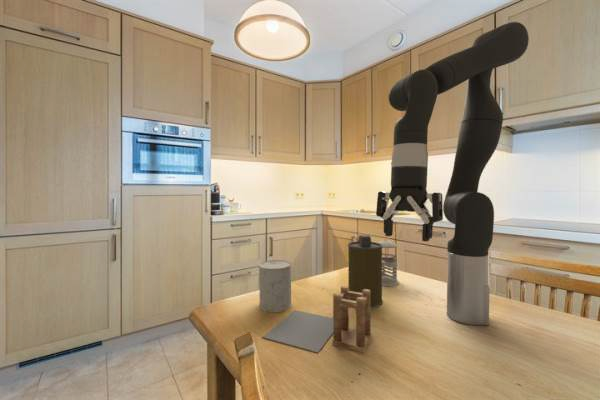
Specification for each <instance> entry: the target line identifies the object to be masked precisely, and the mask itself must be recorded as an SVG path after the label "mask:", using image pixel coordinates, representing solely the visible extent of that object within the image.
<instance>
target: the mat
mask: <svg viewBox="0 0 600 400" xmlns="http://www.w3.org/2000/svg"><path fill="white" fill-rule="evenodd" d="M332 335H333V317H329V316H324V315H321V314H315V313H310V312H305V311H301V310H296V309H294V310H293V311H292V312H291V313H289V314H288V315H287V316H285V318H284V319H282V320H281V321H280V322H279V323H277V324H276V325H275V326H274V327H273V328H271V329H270V330H269V331H267V333H265V334H264V335H263V336H262V339H266V340H269V341H272V342H277V343H280V344H283V345H287V346H291V347H294V348H298V349H301V350H306V351H309V352H313V353H316V354H319V353H320V351H321V350H322V349H323V347H324V346H325V345H326V344H327V342H328V341H329V339H330V338H331V337H332Z"/></svg>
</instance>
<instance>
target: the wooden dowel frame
mask: <svg viewBox="0 0 600 400" xmlns="http://www.w3.org/2000/svg"><path fill="white" fill-rule="evenodd" d="M332 295H333V296H332V298H333V300H332V301H333V302H332V303H333V304H332V306H333V309H332V310H333V311H332V315H333V317H332V318H333V334H332V335H333V338H332V341H331V342H332V344H331V345H332V346H337V347H341V348H344V349H349V350H352V351H356V352H360V353H365V351H366V349H367V347H368V345H369V342H370V340H371V338H372V332H371V307H370V290H368V289H364V290H362V293H359V292H353V291H348V285H347V286H346V285H342V286H340V292H339V293H338V292H337V293H333V294H332ZM348 298H354V299H356V301H353V300H348ZM349 308H350V309H355V310H356V311H355V313H356V316H355V317H356V318H355V319H356V320H355V321H356V322H355V323H356V325H355V327H356V328H353V327H349V323H350V321H349Z"/></svg>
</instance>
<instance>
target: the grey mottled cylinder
mask: <svg viewBox="0 0 600 400" xmlns="http://www.w3.org/2000/svg"><path fill="white" fill-rule="evenodd" d="M258 272H259V273H258V276H259V277H258V279H259V286H258V287H259V309H260V310H262V311H264V312H267V313H268V312H269V313H279V312H284V311H287V310H289V309H290V308H291V307H292V305H293V304H292V263H291V262H289V261H288V260H287V261H286V260H279V259H278V260H277V259H275V260H273V259H272V260H265V261H262V262H259V264H258Z"/></svg>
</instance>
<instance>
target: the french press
mask: <svg viewBox="0 0 600 400" xmlns="http://www.w3.org/2000/svg"><path fill="white" fill-rule="evenodd" d="M384 237H385V238H384V240H380V241H377V242H376V243H380V244H382V245H383V247H382V249H385V253H382V287H396V286H399V285H400V284H399V283H400V281H399V280H398V277H397V276H398V275H397V274H398V271H397V270H398V269H397V268H398V265H397V264H398V259H396V257H397V256H396V255H395V254H393V253H391V254H390V253H387V249H394V248H398V245H397V244H396V243H395V242H393V241H391V240H388V239H387V236H386V235H385V236H384Z"/></svg>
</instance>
